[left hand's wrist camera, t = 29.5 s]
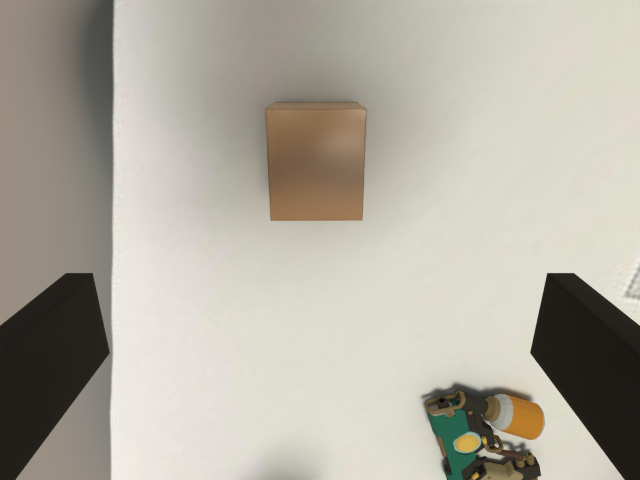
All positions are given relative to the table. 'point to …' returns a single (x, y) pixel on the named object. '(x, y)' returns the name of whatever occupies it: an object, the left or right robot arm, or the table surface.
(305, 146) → the brown wooden cube
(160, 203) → the table surface
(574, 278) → the left robot arm
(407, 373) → the table surface
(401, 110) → the table surface
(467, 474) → the spray gun
